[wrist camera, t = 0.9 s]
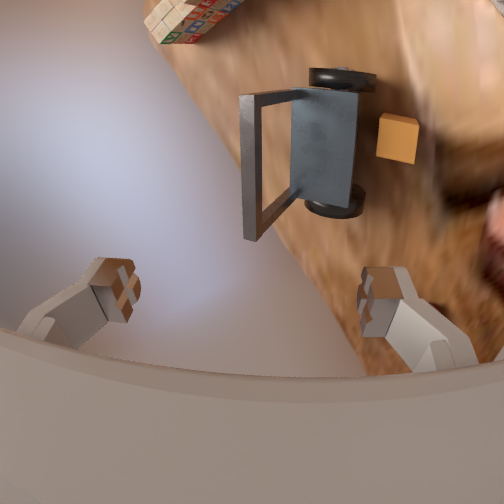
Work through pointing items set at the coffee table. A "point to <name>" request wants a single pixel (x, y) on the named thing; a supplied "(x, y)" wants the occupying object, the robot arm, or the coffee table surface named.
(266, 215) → the trolley
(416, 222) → the coffee table surface
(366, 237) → the coffee table surface
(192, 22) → the stack of blocks
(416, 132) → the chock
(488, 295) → the coffee table surface
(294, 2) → the coffee table surface
